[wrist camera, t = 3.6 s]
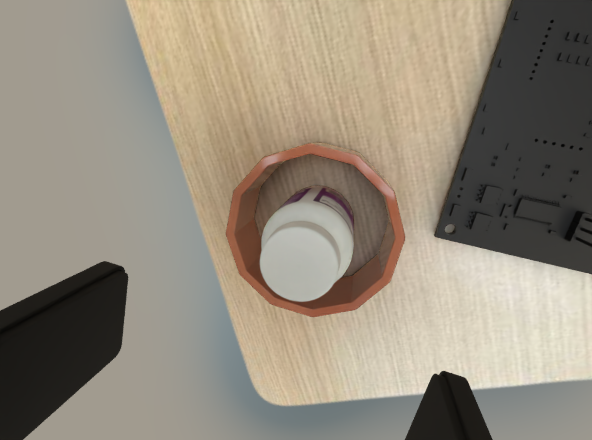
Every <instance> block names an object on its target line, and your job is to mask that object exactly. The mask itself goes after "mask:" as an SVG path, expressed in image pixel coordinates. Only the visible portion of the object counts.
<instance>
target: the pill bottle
mask: <svg viewBox="0 0 592 440" xmlns="http://www.w3.org/2000/svg"><path fill="white" fill-rule="evenodd" d="M353 237H354V219H353V213H352V210H351V207H350V205H349V203H348V202H347V200H346V199H345V198H344V197H343V196H342V195H341V194H340V193H338V192H337V191H335V190H333V189H331V188H328V187H325V186H310V187H306V188H304V189H302V190H300V191H298V192H297V193H295V194H294V195H293V196H292V197H291V198H290V199H288V201H286V202H285V203H284V204H283V205H282V206H281V207H280V208H279V209H278V210H277V211H276V212H275V213H274V214H273V215H272V216H271V217H270V219H269V220H268V222H267V224H266V226H265V228H264V231H263V234H262V240H261V249H262V251H261V255H260V269H261V273H262V276H263V278H264V280H265V282H266V283H267V285H268V286H269V287H270V288H271V289H272V290H273V291H274V292H275V293H277V294H278V295H280V296H282V297H283V298H286V299H289V300H292V301H299V302H304V301H311V300H314V299H317V298H319V297H321V296H322V295H324V294H325V293H326V292H328V291H329V290H330V288H331V287H332V286H333V284H334V283H335V282H336V281H337V280H339V279H340V278H341V277H342V276H343V274H344V273H345V272H346V270H347V268H348V267H349V264H350V262H351V259H352V255H353V248H354V245H353Z"/></svg>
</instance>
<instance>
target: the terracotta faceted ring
mask: <svg viewBox="0 0 592 440" xmlns="http://www.w3.org/2000/svg"><path fill="white" fill-rule="evenodd" d="M306 154H314V155H317V156H321V157H325V158H329V159H333V160H337V161H341V162H345V163H349V164H353V165H354V166H355V167H356V168H357V169H358V170H359V171H360V172H361V173H362V174H363V175H364V176H365V177H366V178H367V179H368V180H369V181H370V182H371V183H372V184H373V185H374V186H375V187H376V188H377V189H378V190H379V191H380V192H381V193H382V194H383V198H384V202H385V207H386V211H387V215H388V219H389V222H388V225H387V228H386V231H385V234H384V237H383V240H382V243H381V246H380V249H379V252H378V254H377V255H376V256H375V257H374V258H372V259H371V260H370V261H369V262H368V263H367V264H365V265H364V266H363V267H362V268H361V269H360V270H358V271H357V272H356V273H355V274H354V275H353V276H348V277H343V278H340V279H339V280H337V281H336V282H335V283H334V284H333V286H332V287H331V288H330V290H329V291H328V292H326V293H325V294H324V295H322V296H321V297H319V298H317V299H314V300H311V301H304V302H299V301H292V300H289V299H286V298H283V297H282V296H280V295H278V294H277V293H275V292H274V291H273V290H272V289H271V288H270V287H269V286H268V285H267V283H266V282H265V280H264V278H263V276H262V273H261V269H260V255H261V251H262V249H261V238H260V235H259V232H258V229H257V226H256V222H255V219H254V216H255V211H256V207H257V202H258V197H259V192H260V187H261V185H262V184H263V183H264V182H265V181H266V180H267V179H268V177H269V176H270V175H271V174H272V173H273V172H274V171H275V170H276V169H277V168H278V167H279V165H280V164H281V163H282V162H283V161H286V160H290V159H293V158H296V157H300V156H303V155H306ZM226 236H227V239H228V242H229V245H230V248H231V251H232V254H233V257H234V260H235V263H236V265H237V268H238V271H239V274H240V275H241V276H242V277H243V278H244V279H245V280H246V281H247V282H248V283H249V284H250V285H251V286H252V287H253V288H254V289H255V290H256V291H257V292H258V293H259V294H261V295H262V296H263V297H264V298H265V299H266V300H267V301H268V302H269V303H270V304H272V305H275V306H278V307H281V308H284V309H288V310H291V311H294V312H297V313H300V314H304V315H307V316H310V317H317V316H323V315H329V314H334V313H340V312H346V311H352V310H355V309H357V308H359V307H360V306H361V305H362V304H364V303H365V302H366V301H367V300H368V299H370V298H371V297H372V296H373V295H375V294H376V293H377V292H378V291H380V290H381V289H382V288H383V287H384V286H386V285H387V284H388V283H389V282H390V281H391V279H392V276H393V273H394V270H395V267H396V264H397V261H398V258H399V256H400V253H401V250H402V247H403V244H404V241H405V234H404V229H403V225H402V221H401V217H400V213H399V208H398V204H397V200H396V196H395V192H394V190H393V189H392V187H391V185H390V184H389V182H388V181H387V180H386V179H385V178H384V177H383V176H382V175H381V174H380V173H379V172H378V171H377V170H376V169H375V168H374V167H373V166H372V165H371V164H370V163H369V162H368V161H367V160H366V159H365V158H364V157H363V156H362V155H361V154H360V153H359V152H357V151H353V150H349V149H345V148H341V147H337V146H333V145H329V144H325V143H321V142H314V143H308V144H305V145H301V146H298V147H295V148H291V149H288V150H285V151H282V152H278V153H275V154H272V155H268V156H265V157H263V158H262V159H261V160H260V162H259V163H258V164H257V165H256V166H255V167H254V168H253V169H252V171H251V172H250V173H249V174H248V175H247V176H246V177H245V178H244V180H243V181H242V182H241V183H240V184H239V185H238V186H237V187H236V189H235V190H234V192H233V197H232V202H231V208H230V213H229V219H228V224H227V229H226Z"/></svg>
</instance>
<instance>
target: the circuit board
mask: <svg viewBox="0 0 592 440" xmlns="http://www.w3.org/2000/svg"><path fill="white" fill-rule="evenodd" d="M534 140H535V141H534ZM460 188H461V189H460ZM457 195H459V196H458V197H457ZM448 224H454V225H455V230H454V231H453V232H452V233H446V232H445V227H446V226H447V225H448ZM434 236H435V237H437V238H442V239H446V240H450V241H454V242H458V243H463V244H467V245H471V246H475V247H480V248H484V249H488V250H492V251H496V252H501V253H505V254H509V255H513V256H517V257H522V258H526V259H530V260H534V261H539V262H543V263H547V264H551V265H555V266H560V267H564V268H568V269H572V270H576V271H581V272H585V273H589V274H592V0H512V3H511V6H510V9H509V12H508V15H507V18H506V21H505V24H504V27H503V30H502V33H501V36H500V39H499V42H498V45H497V48H496V51H495V54H494V57H493V60H492V63H491V66H490V69H489V72H488V75H487V78H486V81H485V84H484V87H483V90H482V93H481V96H480V100H479V103H478V106H477V109H476V112H475V115H474V118H473V121H472V124H471V127H470V130H469V133H468V136H467V139H466V142H465V145H464V148H463V151H462V154H461V157H460V160H459V163H458V166H457V169H456V172H455V175H454V178H453V181H452V184H451V187H450V190H449V193H448V196H447V199H446V202H445V205H444V208H443V211H442V214H441V217H440V220H439V223H438V226H437V229H436V232H435V235H434Z"/></svg>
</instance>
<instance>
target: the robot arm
mask: <svg viewBox="0 0 592 440" xmlns="http://www.w3.org/2000/svg"><path fill="white" fill-rule="evenodd" d="M127 284H128V275H127V273H125V270H124V268H123V267H122V266H119V265H116V264H112V263H109V262H106V261H104V262H101V263H99V264H96V265H94V266H92V267H90V268H88V269H86V270H84V271H82V272H80V273H78V274H76V275H73V276H72V277H69V278H67V279H65V280H63V281H61V282H59V283H57V284H55V285H53V286H51V287H48V288H46V289H44V290H42V291H40V292H38V293H36V294H34V295H32V296H30V297H28V298H26V299H24V300H21V301H20V302H17V303H15V304H13V305H11V306H9V307H7V308H5V309H3V310H1V311H0V440H23V439H24V438H25V437H26V436H28V435H29V434H30V433H31V432H32V431H33V430H34V429H35V428H37V427H38V426H39V425H40V424H41V423H42V422H43V421H44V420H45V419H47V418H48V417H49V416H50V415H51V414H52V413H53V412H55V411H56V410H57V409H58V408H59V407H60V406H61V405H62V404H63V403H65V402H66V401H67V400H68V399H69V398H70V397H71V396H72V395H74V394H75V393H76V392H77V391H78V390H79V389H80V388H81V387H83V386H84V385H85V384H86V383H87V382H88V381H89V380H90V379H92V377H94V376H95V375H96V374H97V373H98V372H99V371H101V370H102V369H103V368H104V367H105V366H106V365H107V364H108V363H110V362H111V361H112V360H113V359H114V358H115V357H116V356H117V354H118V353H119V351H120V349H121V345H122V336H123V325H124V316H125V305H126V294H127ZM405 440H492V438H491V435H490V433H489V430H488V428H487V426H486V423H485V421H484V419H483V417H482V414H481V411H480V409H479V407H478V404H477V402H476V400H475V397H474V395H473V393H472V390H471V388H470V386H469V383H468V381H467V379H466V378H464V377H461V376H458V375H455V374H452V373H449V372H446V371H442V372H441V373H440V374H439V375H437V374H434V375H433V376H432V378H431V380H430V382H429V384H428V387H427V389H426V392H425V394H424V396H423V399H422V401H421V403H420V406H419V408H418V410H417V413H416V415H415V417H414V420H413V422H412V425H411V427H410V429H409V431H408V434H407V436H406V438H405Z"/></svg>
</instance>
